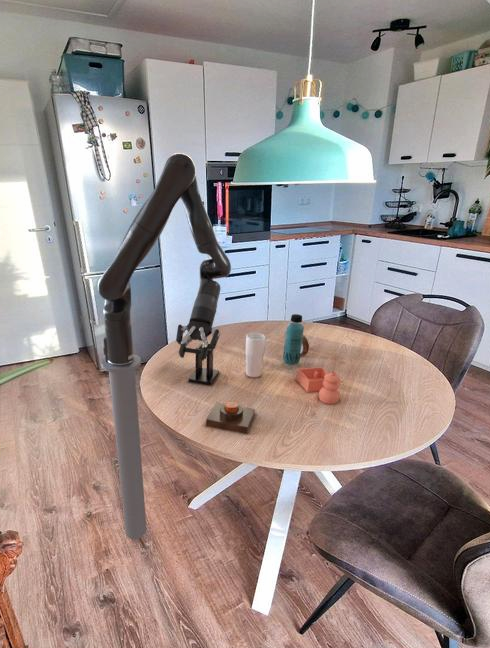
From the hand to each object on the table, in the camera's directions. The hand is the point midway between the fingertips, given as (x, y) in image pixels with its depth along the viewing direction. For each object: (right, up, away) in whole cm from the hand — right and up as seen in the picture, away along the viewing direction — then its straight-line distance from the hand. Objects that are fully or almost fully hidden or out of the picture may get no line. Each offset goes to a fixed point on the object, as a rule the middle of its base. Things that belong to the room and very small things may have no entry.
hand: (191, 358), depth 120 cm
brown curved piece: (+40, +3, +41) cm, 57 cm away
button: (+12, -15, -9) cm, 21 cm away
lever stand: (+3, -7, +17) cm, 18 cm away
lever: (+2, +1, +7) cm, 7 cm away
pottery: (+43, -11, +11) cm, 45 cm away
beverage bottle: (+36, -3, +28) cm, 46 cm away
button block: (+12, -18, -7) cm, 23 cm away
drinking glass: (+21, -6, +20) cm, 29 cm away
